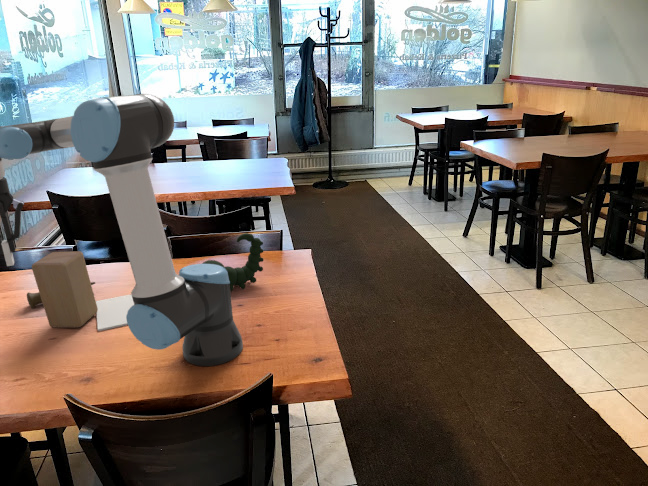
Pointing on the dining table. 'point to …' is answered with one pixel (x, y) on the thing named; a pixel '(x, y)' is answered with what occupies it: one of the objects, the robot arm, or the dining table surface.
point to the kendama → (36, 298)
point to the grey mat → (113, 312)
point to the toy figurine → (248, 271)
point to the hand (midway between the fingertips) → (10, 264)
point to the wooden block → (65, 289)
